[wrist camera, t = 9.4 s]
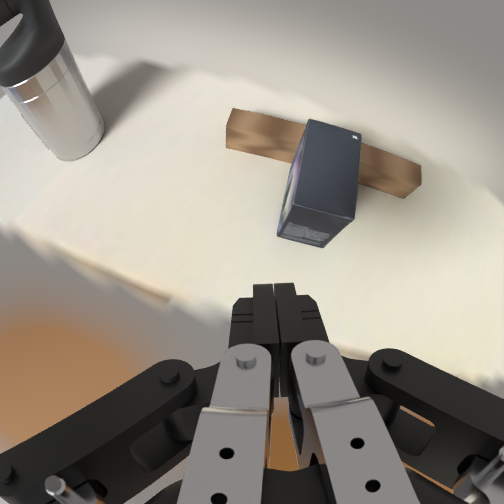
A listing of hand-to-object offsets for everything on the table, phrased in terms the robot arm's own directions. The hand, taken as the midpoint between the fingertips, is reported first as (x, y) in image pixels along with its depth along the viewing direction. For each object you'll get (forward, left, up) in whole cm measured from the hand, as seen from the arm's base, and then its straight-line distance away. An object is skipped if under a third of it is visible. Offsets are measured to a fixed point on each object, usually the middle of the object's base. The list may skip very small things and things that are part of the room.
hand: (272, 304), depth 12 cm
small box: (+5, +16, -24) cm, 29 cm away
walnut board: (+6, +23, -23) cm, 33 cm away
